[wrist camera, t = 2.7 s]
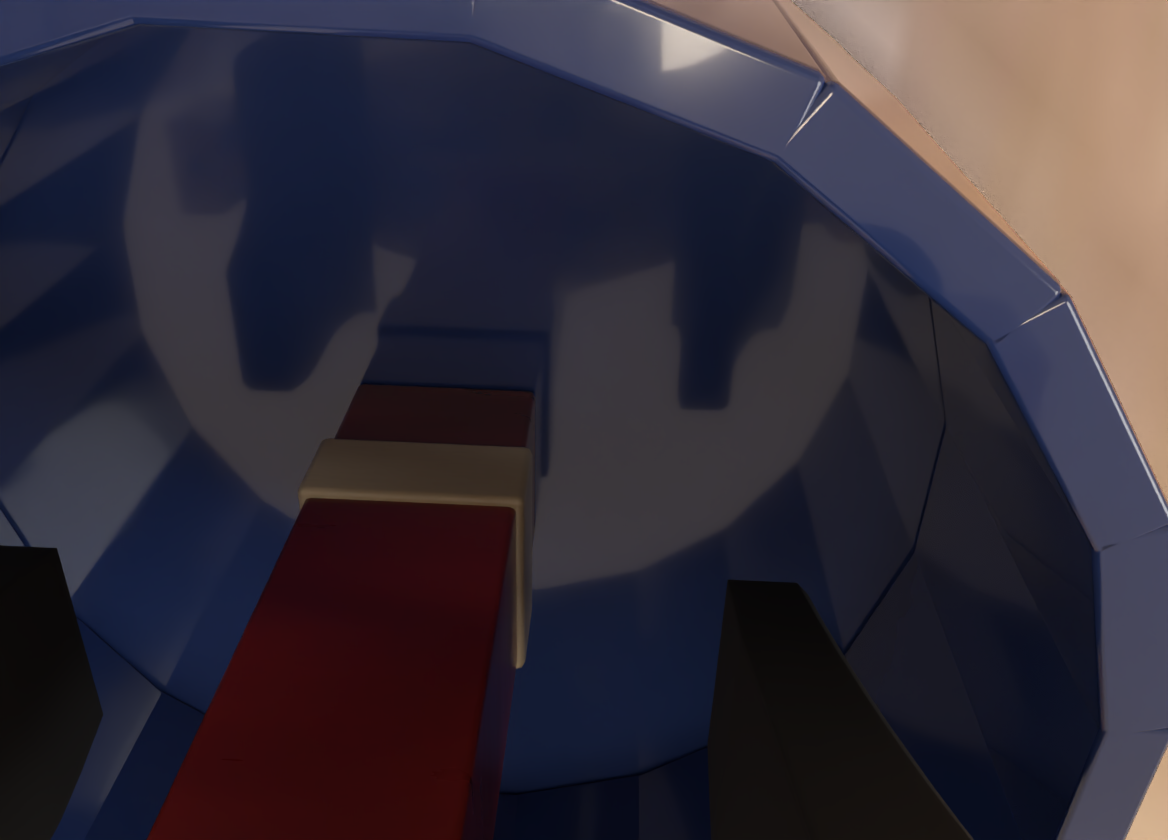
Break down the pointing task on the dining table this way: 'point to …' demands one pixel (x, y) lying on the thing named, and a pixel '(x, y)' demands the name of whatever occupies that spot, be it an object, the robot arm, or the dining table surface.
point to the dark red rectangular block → (379, 635)
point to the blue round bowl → (570, 383)
